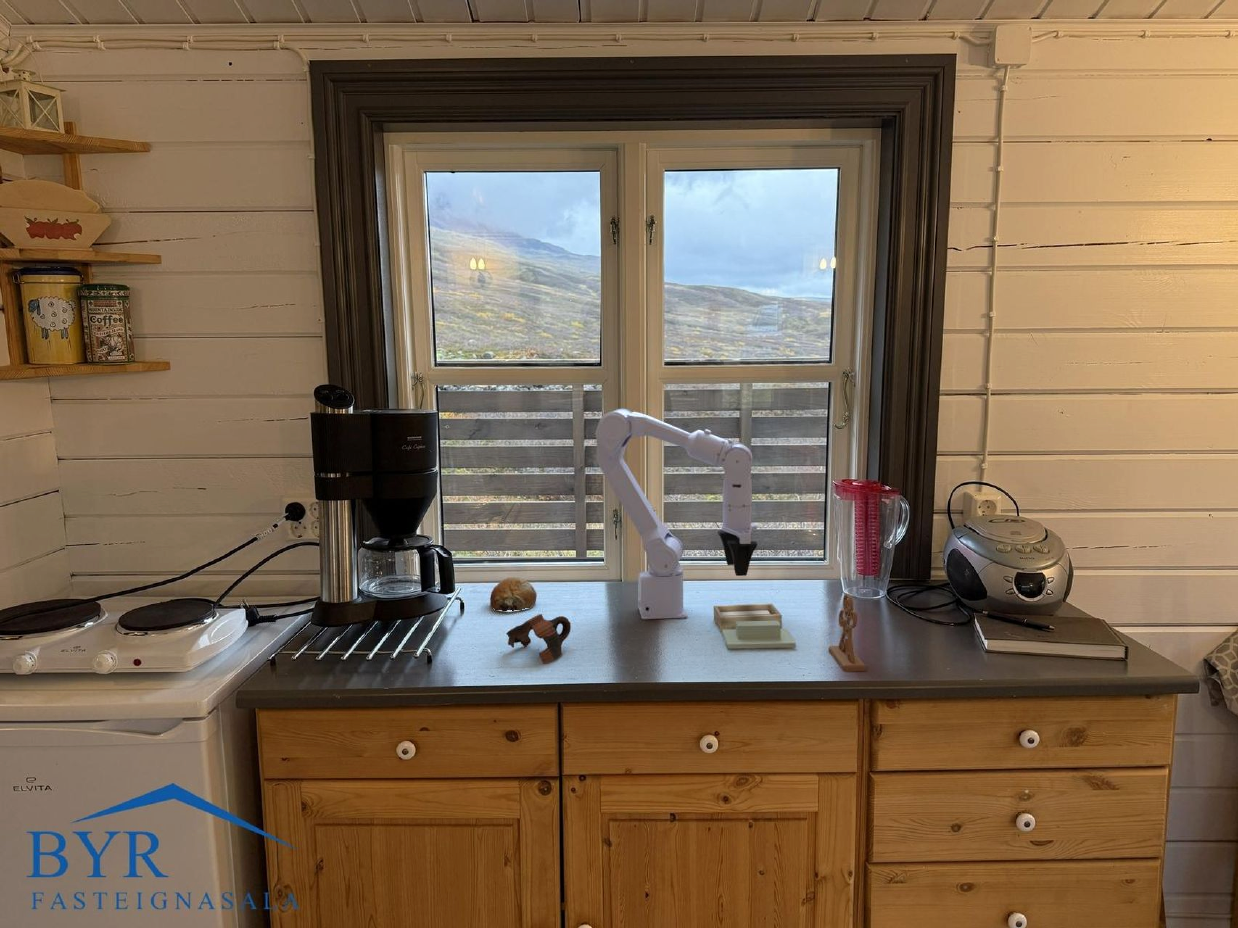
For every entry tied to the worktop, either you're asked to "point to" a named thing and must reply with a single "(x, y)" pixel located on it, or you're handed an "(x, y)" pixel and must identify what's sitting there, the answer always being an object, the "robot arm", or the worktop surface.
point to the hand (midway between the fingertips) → (736, 569)
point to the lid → (758, 635)
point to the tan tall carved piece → (847, 640)
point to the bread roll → (513, 595)
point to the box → (744, 614)
